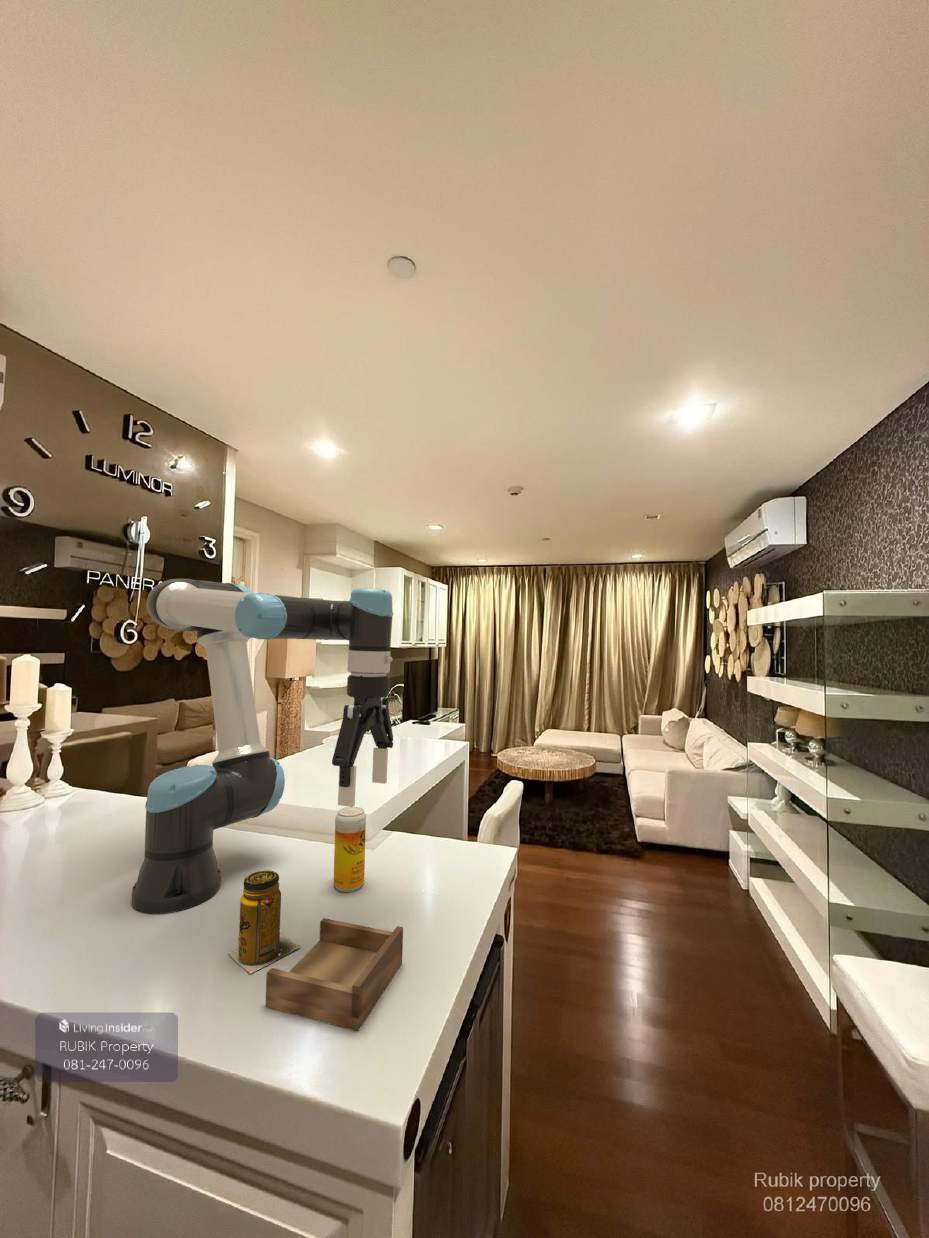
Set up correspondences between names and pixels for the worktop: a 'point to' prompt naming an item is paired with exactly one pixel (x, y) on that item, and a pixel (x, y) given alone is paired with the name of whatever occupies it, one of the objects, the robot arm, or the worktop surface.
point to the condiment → (261, 923)
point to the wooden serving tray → (338, 974)
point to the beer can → (349, 849)
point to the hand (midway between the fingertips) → (364, 793)
